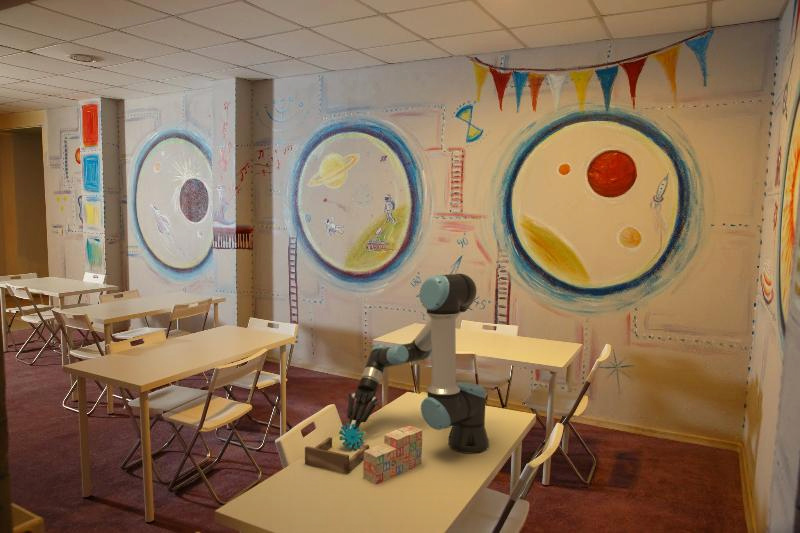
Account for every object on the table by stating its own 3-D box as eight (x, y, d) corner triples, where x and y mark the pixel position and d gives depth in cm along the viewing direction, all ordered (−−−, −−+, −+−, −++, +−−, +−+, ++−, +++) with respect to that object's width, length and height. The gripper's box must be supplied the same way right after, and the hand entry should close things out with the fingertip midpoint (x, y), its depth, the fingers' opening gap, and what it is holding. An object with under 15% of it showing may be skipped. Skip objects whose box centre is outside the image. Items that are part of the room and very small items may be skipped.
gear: (345, 450, 190) (337, 424, 196) (337, 457, 194) (330, 431, 199) (370, 445, 197) (362, 420, 202) (363, 452, 201) (355, 427, 206)
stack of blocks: (375, 485, 170) (376, 447, 168) (362, 478, 174) (363, 441, 173) (421, 464, 185) (422, 429, 183) (408, 458, 189) (409, 424, 188)
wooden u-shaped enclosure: (329, 446, 197) (329, 430, 197) (369, 454, 191) (369, 438, 190) (304, 464, 182) (304, 447, 182) (347, 474, 176) (347, 456, 175)
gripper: (387, 388, 213) (368, 445, 200) (358, 383, 218) (338, 438, 205) (381, 379, 207) (361, 437, 194) (352, 374, 213) (330, 430, 200)
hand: (349, 438), depth 200 cm, fingers closed
